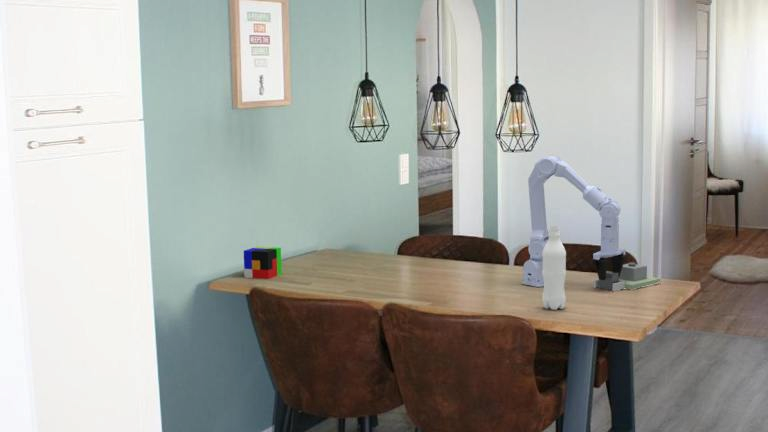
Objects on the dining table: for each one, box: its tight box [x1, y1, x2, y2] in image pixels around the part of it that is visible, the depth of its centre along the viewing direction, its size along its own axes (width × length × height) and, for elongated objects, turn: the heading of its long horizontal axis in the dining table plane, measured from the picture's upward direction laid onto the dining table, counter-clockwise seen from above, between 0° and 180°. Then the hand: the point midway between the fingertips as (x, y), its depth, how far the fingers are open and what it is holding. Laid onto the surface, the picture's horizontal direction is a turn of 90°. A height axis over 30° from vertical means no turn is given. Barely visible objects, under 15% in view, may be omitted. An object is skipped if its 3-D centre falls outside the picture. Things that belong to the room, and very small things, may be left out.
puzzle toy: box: [243, 246, 283, 280], centre depth 352 cm, size 10×10×10 cm
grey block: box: [598, 270, 619, 291], centre depth 318 cm, size 4×5×6 cm
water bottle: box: [541, 225, 567, 311], centre depth 290 cm, size 7×7×25 cm
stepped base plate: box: [593, 261, 661, 292], centre depth 323 cm, size 21×13×7 cm, turn 129°
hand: (609, 278), depth 318 cm, fingers open, 7 cm apart
